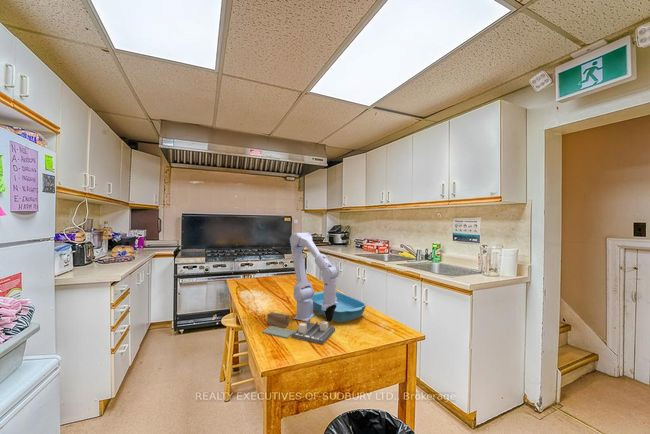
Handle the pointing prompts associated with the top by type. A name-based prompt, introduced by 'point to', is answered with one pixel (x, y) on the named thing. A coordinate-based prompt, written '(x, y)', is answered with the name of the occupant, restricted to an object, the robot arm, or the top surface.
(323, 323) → the switch tab
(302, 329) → the switch tab
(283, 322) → the brown rectangular block
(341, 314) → the casserole dish
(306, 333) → the switch panel
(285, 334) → the mat
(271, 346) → the top surface
